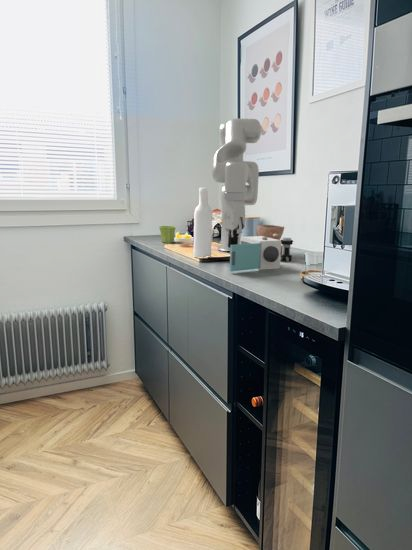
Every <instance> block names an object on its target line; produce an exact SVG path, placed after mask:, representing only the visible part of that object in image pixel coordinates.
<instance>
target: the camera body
mask: <svg viewBox="0 0 412 550" xmlns="http://www.w3.org/2000/svg"><path fill="white" fill-rule="evenodd" d="M281 240H282V239H280V240H277V239H273V238H268V237H263V236H258V235H255V236H254V235H253V236H252V235H251V236H241V239H240V244H253V243H261V263H260V268H259V269H256V270H257V271H262V270H275V269H280V268H281V267H280V266H281V265H280V264H281V261H280V254H281V245H282V244H281Z"/></svg>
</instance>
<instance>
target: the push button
mask: <svg viewBox="0 0 412 550" xmlns="http://www.w3.org/2000/svg"><path fill="white" fill-rule="evenodd" d="M280 240H281V245H282V255H280V263H281V262H282V263H284V262H285V263H286V262H290V263H291V262H292V260H293V255H292V254H291V246H292V245H293V242H294V240H292V237H282V238H281V239H280Z"/></svg>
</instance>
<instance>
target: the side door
mask: <svg viewBox="0 0 412 550" xmlns="http://www.w3.org/2000/svg"><path fill="white" fill-rule="evenodd" d="M260 263H261V243H253V244H237V245H231V248H230V252H229V272H239V271H247V270H257V269H259V268H260Z"/></svg>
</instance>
